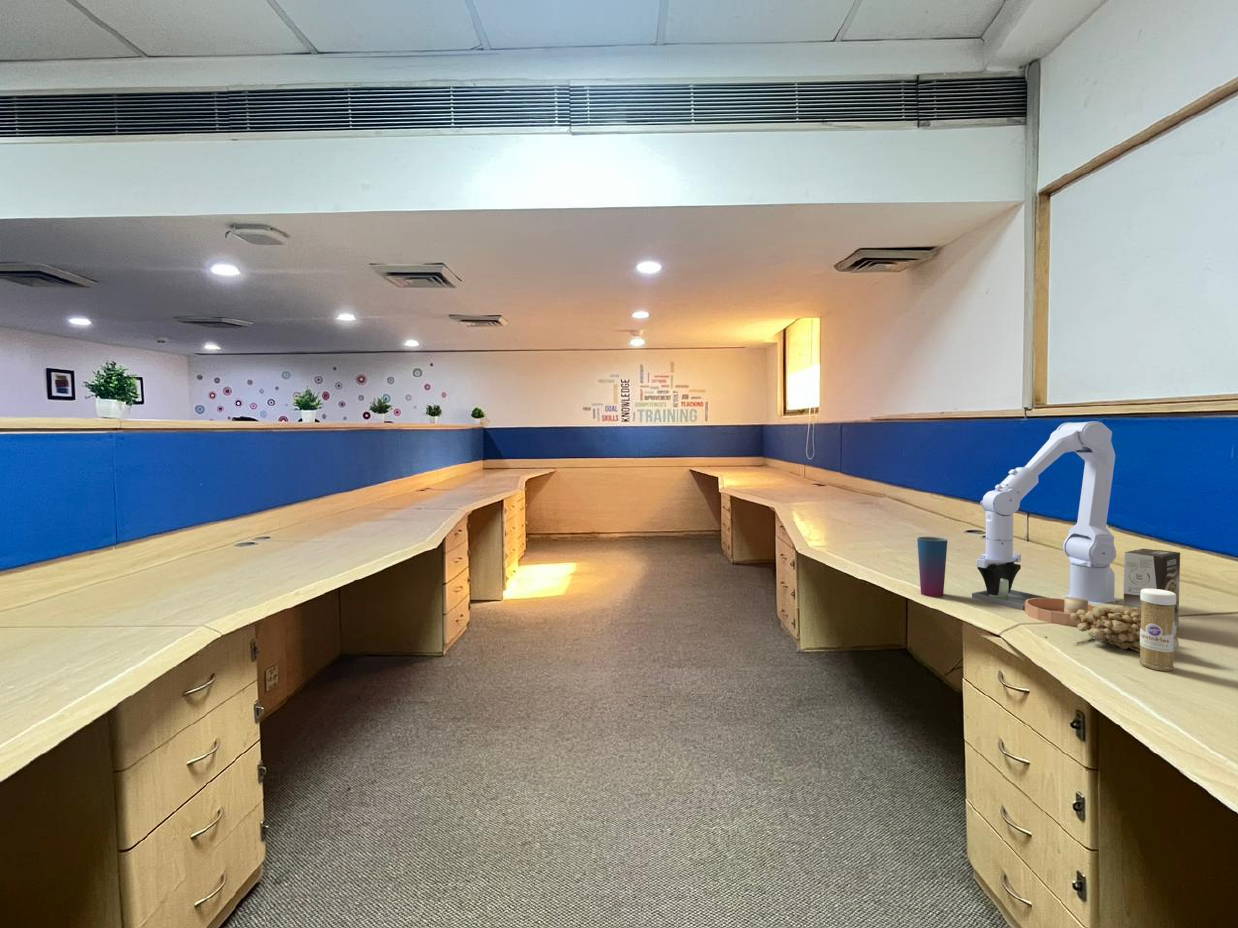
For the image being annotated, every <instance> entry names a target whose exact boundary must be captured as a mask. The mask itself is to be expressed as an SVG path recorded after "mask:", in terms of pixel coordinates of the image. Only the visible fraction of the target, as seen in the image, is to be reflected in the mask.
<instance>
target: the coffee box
mask: <svg viewBox="0 0 1238 928" xmlns="http://www.w3.org/2000/svg"><path fill="white" fill-rule="evenodd" d="M1123 567H1124V570H1123V600H1122V601H1123V603H1122V604H1123V605H1122V607H1124V606H1125V607H1129V608H1134V607H1136V608H1138V609H1139V610H1140V611H1141V609H1142V602H1141V599H1140V593H1141V590H1142V589H1146V588H1149V589H1160V590H1166V591H1170V592H1173V593H1175V594H1176V604H1175V614H1174V621H1175V626H1176V627H1177V628H1176V629H1179V625H1180V624H1179V623H1180V621H1179V619H1180V579H1181V578H1180V576H1181V575H1180V574H1181V552H1179V551H1172V550H1160V549H1150V548H1140V549H1134V550H1129V551H1125V552H1124V565H1123Z"/></svg>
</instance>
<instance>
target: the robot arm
mask: <svg viewBox="0 0 1238 928" xmlns="http://www.w3.org/2000/svg"><path fill="white" fill-rule="evenodd" d="M1112 437H1113V431H1112V430H1111V429H1110V428H1108V427H1107V426H1106V425H1105V424H1104V423H1103V422H1100V421H1095V420H1093V421H1084V422H1083V421H1082V422H1073V421H1072V422H1070V421H1069V422H1064V423H1061V424H1060V425H1059V426H1057V428H1056V430H1054V431H1052V433H1050V436H1049V439H1047V441H1046V442H1045V443H1044V445H1042V446H1041V448H1040V449H1039V450H1038V451H1037V452H1036V454H1035V455H1034V456H1033V457H1032V458H1031V459H1030V460H1029V461H1028V462H1027V464H1026V465H1024V466H1023V467H1021V466H1020V467H1016V468H1015V469H1010V470H1009V471H1008V474H1009V475H1007V476H1006V478H1004V479H1003V480H1002V481H1001V482H1000V483H999V484H996V485H995V486H994V488H995V489H994V490H990V491H989V490H988V491H987V492H986V493H985V494H984V495H983V497H982V500H981V501H980V506H981V508H982V510H983V511H984V512H985V513H984V514H985V553H982V554H980V556H981V557H979V558H976V567H977V570H978V571H979V573H980V574H981V577H982V579H983V581H984V585H985V590H987V592H988V594H991V595H998V592H999V585H1000V580H1001V578H1002V579H1007V580H1008V581H1009V589H1008V593H1010V590H1012V587H1013V583H1014V580H1015V578H1016V576H1017V574H1018V572H1020V570H1021V568H1022V565H1021V564H1018V563H1020V562H1022V555H1021V553H1020V554H1019V553H1014V514H1015V512H1017V511H1019V508H1020V505H1021V501H1022V500H1023V499H1024V497H1025V496H1027V495H1028V493H1030V491H1032V490H1033V489H1034V487H1036V486H1037V485H1038V484H1039V475H1040V474H1041V473H1043V472H1044V471H1045V470H1046V469H1047V468H1049V466H1050V465H1052V464H1053V463H1054V462H1055V461H1056V460H1058V459H1059V458H1060V457H1061V456H1063V454H1065V453H1071V452H1074V453H1076V454H1077V455H1078V456H1079V457H1080V458H1081V459H1082V460H1083V461H1084V469H1083V477H1082V484H1081V485H1082V486H1081V489H1080V490H1081V491H1080V492H1081V493H1080V500H1079V507H1078V513H1077V521H1076V524H1074V525H1073V526H1072V527H1070V529H1069V530H1068V534H1067V535H1068V536H1067V537H1066V538H1065V540H1064V542H1063V544H1062V545H1063V546H1062V549H1063V553H1064V554H1065V555H1066V556H1067V557H1068V562H1069V593H1068V594H1064V595H1061V597H1063V598H1065V597H1077V598H1082V599H1086V600H1088V603H1091V604H1096V605H1101V604H1106V603H1108V602H1113V603H1115V602H1118V601H1120V598H1119V597H1115V582H1116V581H1115V579H1116V578H1115V575H1116V574H1115V572H1114V571H1113V569H1112V567H1110V565H1111V564H1112V563H1113V562H1115V559H1116V557H1117V549H1116V547H1115V536H1114V534H1112V532H1111V531H1110V530H1109V529H1108V527H1107V522H1108V521H1107V520H1108V514H1109V513H1108V512H1109V508H1110V507H1109V506H1110V499H1111V493H1112V492H1111V491H1112V484H1113V479H1114V478H1113V476H1114V468H1115V461H1116V453H1115V450H1114V447H1113V443H1112Z"/></svg>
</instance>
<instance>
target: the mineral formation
mask: <svg viewBox="0 0 1238 928" xmlns="http://www.w3.org/2000/svg"><path fill="white" fill-rule="evenodd" d="M1070 618H1071V619H1072V620H1074V621H1077V620H1079V621H1080V622H1081V623H1080V624H1078V625H1077V626H1076V627H1077V629H1078V631H1080V632H1087V634H1088V636H1089V637H1090V638H1092V639H1093V640H1096V641H1098V640H1099V641H1102V642H1103V643H1109V644H1111V645H1114V646H1117V647H1118V648H1119V649H1121V650H1127V649H1128V648H1130V649H1132V650H1134V651H1135V652H1138V653H1140V628H1141V611H1140V610H1139V609H1138V608H1136V607H1134V608H1129V607H1125V606H1124V607H1123V606H1116V607H1115V606H1108V607H1107V606H1099V607H1097V606H1095V608H1094V609H1093V611H1085V610H1080V609H1079V610H1078V611H1077V613H1071V615H1070ZM1177 632H1178V628H1177V627H1176V626H1175V632H1174V650H1175V649H1177V646H1179V644H1180V642H1179V639H1178V638H1177V637H1176V635H1177Z"/></svg>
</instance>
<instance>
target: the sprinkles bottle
mask: <svg viewBox="0 0 1238 928" xmlns="http://www.w3.org/2000/svg"><path fill="white" fill-rule="evenodd" d="M1140 599H1141V602H1142V609H1141V628H1140V652H1139V656H1140V657H1139V660H1138V662H1139V664H1140V665H1142V666H1144V667H1145V668H1148V669H1151V670H1156V671H1163V672H1170V671H1173V670H1175V667H1174V652H1175V649H1174V632H1175V621H1174V614H1175V604H1176V594H1175V593H1173V592H1170V591H1166V590H1160V589H1149V588H1146V589H1142V590H1141V593H1140Z"/></svg>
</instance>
